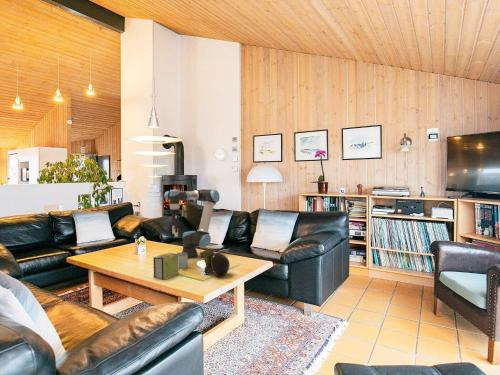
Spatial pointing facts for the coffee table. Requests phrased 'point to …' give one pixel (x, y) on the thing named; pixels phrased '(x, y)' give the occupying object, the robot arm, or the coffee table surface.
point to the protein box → (165, 266)
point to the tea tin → (182, 260)
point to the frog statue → (215, 262)
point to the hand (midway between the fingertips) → (175, 235)
